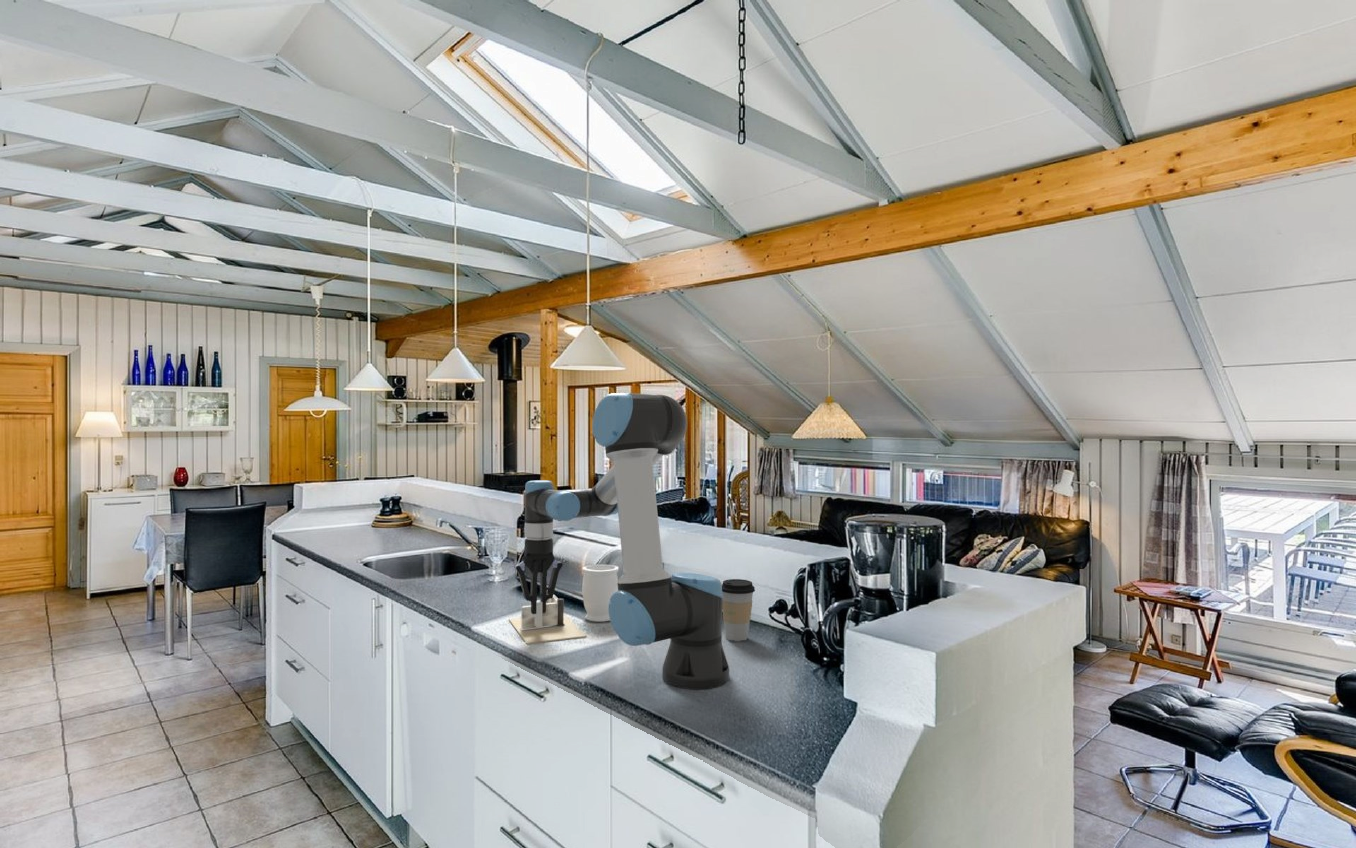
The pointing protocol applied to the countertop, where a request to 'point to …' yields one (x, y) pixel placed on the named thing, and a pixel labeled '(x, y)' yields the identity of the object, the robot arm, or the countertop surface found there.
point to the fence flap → (544, 615)
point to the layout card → (548, 632)
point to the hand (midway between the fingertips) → (538, 625)
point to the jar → (599, 590)
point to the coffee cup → (737, 608)
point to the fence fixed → (553, 602)
